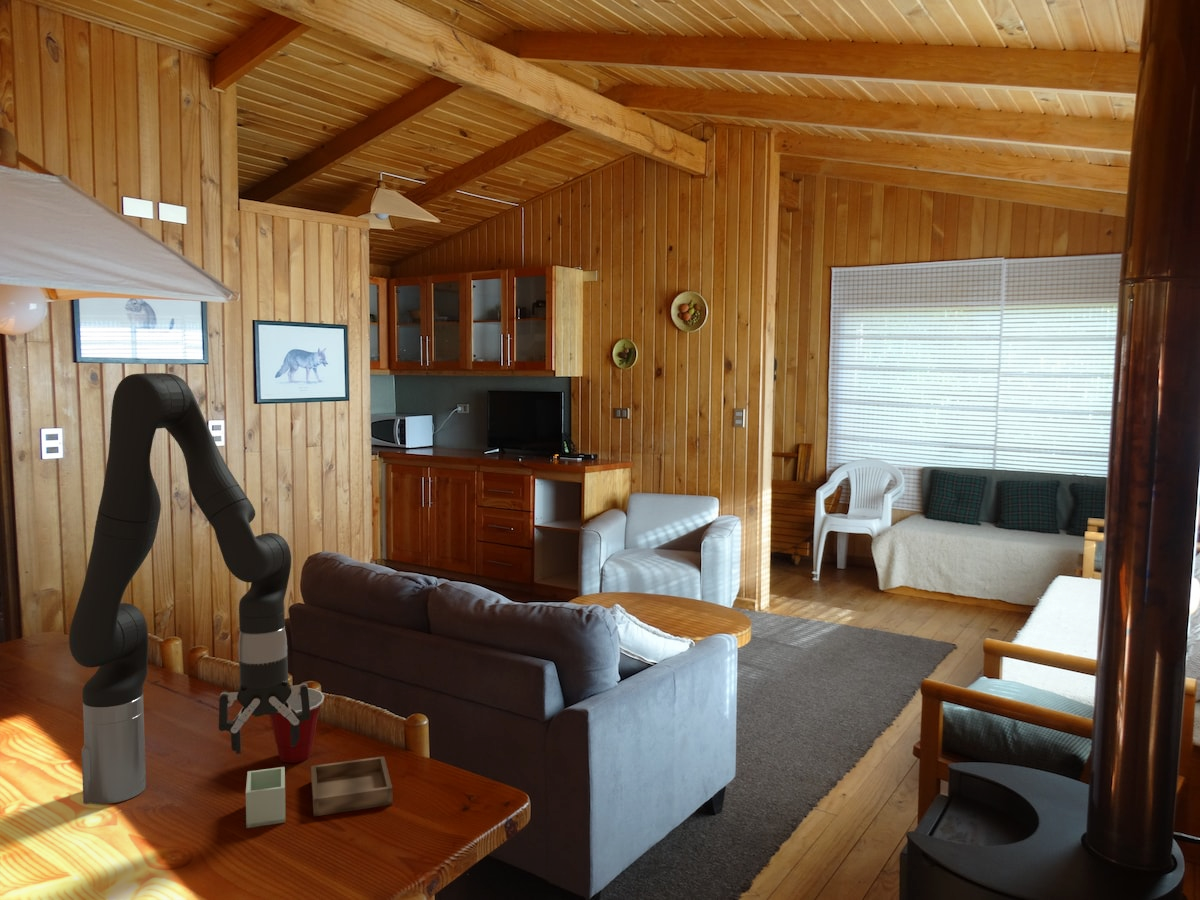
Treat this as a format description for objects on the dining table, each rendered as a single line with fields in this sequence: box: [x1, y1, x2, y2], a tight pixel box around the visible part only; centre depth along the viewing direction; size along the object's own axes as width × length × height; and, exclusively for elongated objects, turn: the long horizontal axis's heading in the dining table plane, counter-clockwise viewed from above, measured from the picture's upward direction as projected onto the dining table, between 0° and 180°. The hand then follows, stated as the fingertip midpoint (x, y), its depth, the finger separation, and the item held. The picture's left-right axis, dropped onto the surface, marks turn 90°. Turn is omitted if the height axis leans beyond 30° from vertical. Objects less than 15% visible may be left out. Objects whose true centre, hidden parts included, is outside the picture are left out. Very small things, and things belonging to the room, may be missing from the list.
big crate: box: [310, 755, 393, 817], centre depth 155 cm, size 13×13×3 cm
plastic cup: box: [269, 687, 325, 764], centre depth 168 cm, size 11×11×12 cm
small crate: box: [245, 766, 286, 829], centre depth 147 cm, size 6×8×6 cm
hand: (266, 748), depth 146 cm, fingers open, 8 cm apart
